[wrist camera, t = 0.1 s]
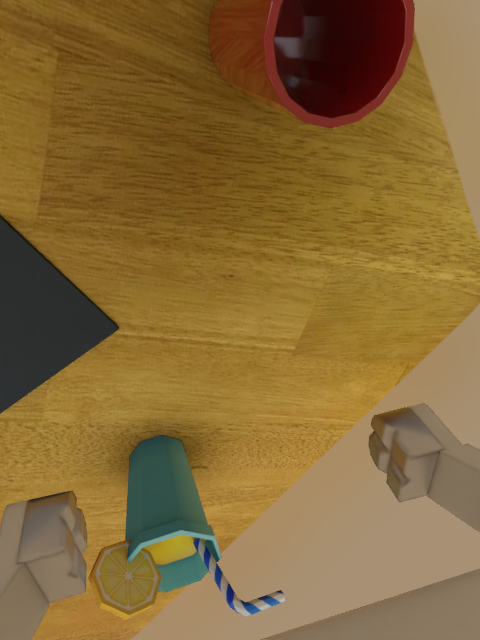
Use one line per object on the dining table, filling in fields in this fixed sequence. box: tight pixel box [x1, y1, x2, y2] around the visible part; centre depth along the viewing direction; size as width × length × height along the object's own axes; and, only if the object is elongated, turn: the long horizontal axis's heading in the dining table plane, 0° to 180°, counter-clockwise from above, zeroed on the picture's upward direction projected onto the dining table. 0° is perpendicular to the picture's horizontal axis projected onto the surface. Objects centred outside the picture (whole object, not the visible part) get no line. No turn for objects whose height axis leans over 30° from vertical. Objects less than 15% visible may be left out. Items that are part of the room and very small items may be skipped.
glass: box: [209, 0, 415, 128], centre depth 22 cm, size 6×6×11 cm
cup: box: [89, 435, 285, 620], centre depth 37 cm, size 14×8×15 cm, turn 77°
